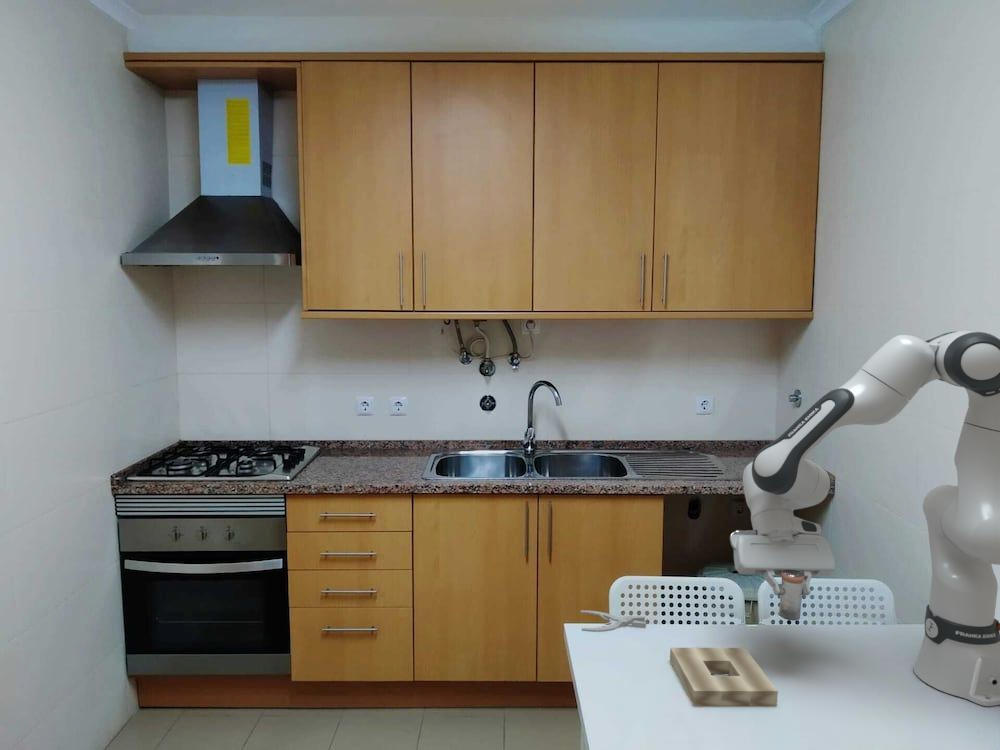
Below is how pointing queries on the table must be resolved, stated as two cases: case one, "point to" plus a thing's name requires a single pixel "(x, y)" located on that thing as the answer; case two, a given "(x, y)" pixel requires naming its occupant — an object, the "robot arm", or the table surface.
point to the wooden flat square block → (722, 677)
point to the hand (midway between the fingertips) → (792, 594)
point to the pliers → (626, 621)
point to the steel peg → (791, 595)
